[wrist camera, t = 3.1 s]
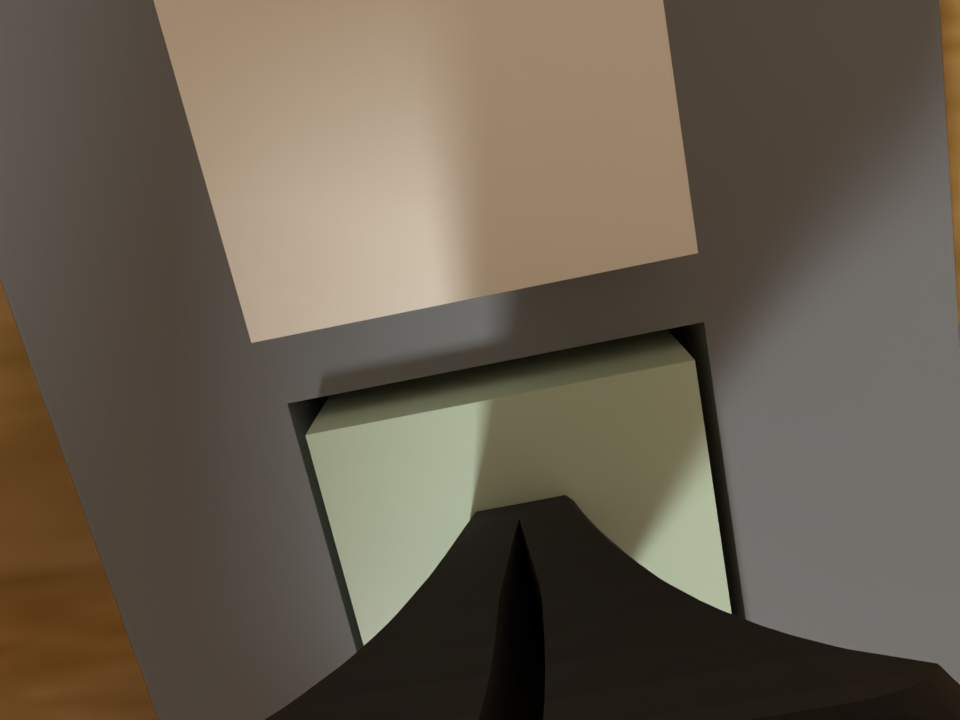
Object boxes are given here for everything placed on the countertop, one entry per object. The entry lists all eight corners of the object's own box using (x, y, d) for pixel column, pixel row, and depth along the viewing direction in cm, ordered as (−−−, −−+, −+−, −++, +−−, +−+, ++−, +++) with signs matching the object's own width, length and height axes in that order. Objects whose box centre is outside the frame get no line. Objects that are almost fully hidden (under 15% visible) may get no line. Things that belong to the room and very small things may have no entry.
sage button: (693, 586, 15) (744, 699, 12) (412, 636, 15) (394, 757, 12) (650, 310, 13) (695, 360, 10) (345, 370, 14) (305, 435, 11)
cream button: (647, 223, 12) (698, 253, 9) (308, 292, 12) (251, 342, 9) (587, -166, 11) (625, -278, 8) (211, -76, 11) (110, -152, 8)
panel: (913, 888, 17) (1001, 1044, 14) (338, 974, 18) (309, 1139, 15) (807, -304, 12) (912, -449, 9) (-11, -107, 12) (-165, -179, 9)
